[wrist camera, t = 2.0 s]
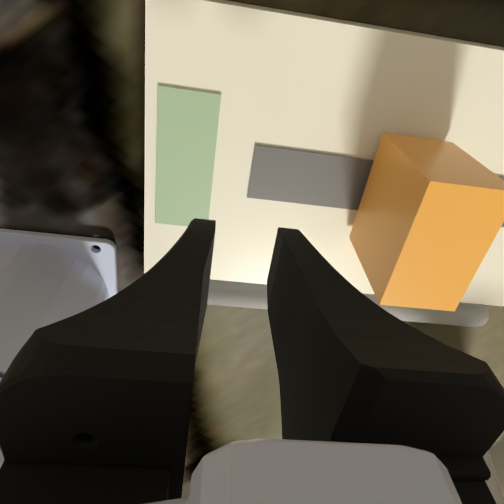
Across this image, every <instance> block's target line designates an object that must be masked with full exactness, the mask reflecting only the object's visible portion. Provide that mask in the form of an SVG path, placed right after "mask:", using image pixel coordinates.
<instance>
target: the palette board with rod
mask: <svg viewBox="0 0 504 504" xmlns="http://www.w3.org/2000/svg"><path fill="white" fill-rule="evenodd" d="M363 294H364V293H363ZM364 295H365V296H366V297H368V298H369V299H370V300H372V301H373V302H374V303H376V304H377V305H378V306H380V307H381V308H383V309H384V310H386V311H387V312H389V313H390V314H392V315H393V316H395V317H397V318H398V319H400V320H401V321H410V322H422V323H433V324H445V325H457V326H469V327H479V326H482V325H484V324H485V323H486V322H487V320H488V318H489V312H488V309H487V308H486V307H485V306H484V305H483V304H473V303H462V302H460V303H459V305H458V306H457V308H456V310H455V312H454V311H443V310H432V309H420V308H409V307H398V306H387V305H379V303H378V301H377V298H376V296H375V294H364ZM207 304H210V305H222V306H233V307H245V308H257V309H268V306H267V285H266V284H255V283H245V282H234V281H223V280H212V279H210V282H209V291H208V300H207Z"/></svg>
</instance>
